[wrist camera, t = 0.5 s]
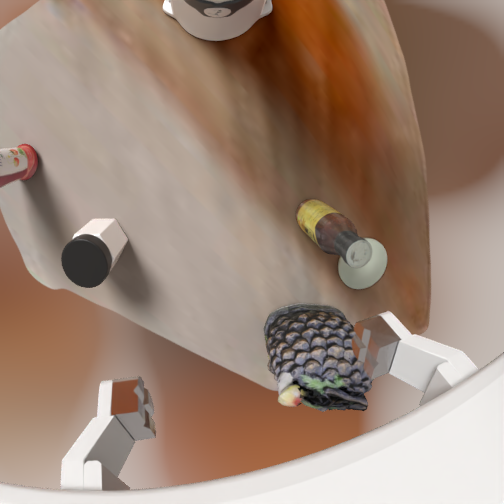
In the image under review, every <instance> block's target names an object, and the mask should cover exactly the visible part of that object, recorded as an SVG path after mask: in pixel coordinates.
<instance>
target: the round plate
mask: <svg viewBox="0 0 504 504" xmlns="http://www.w3.org/2000/svg"><path fill="white" fill-rule="evenodd" d="M364 239H365V240H367V241H368V242H369V243H370V244H371V246H372V257H371V259H370V261H369V262H368V263H367V264H366V265H365V266H363V267H361V268H352V267H350V266H349V265H348V264H346V263H345V262H344V260H343V258H342V257H341V256H340V258H339V262H338V273H339V276H340V278H341V280H342V281H343V282H344V283H345V284H346V285H347V286H348V287H350V288H353V289H364V288H367V287H370V286H371V285H373V284H374V283H376V282H377V281H378V280H379V279H380V278H381V276H382V275H383V273H384V271H385V269H386V265H387V253H386V250H385V248H384V247H383V245H382V244H381V243H379V242H378V241H376V240H375V239H372V238H364Z"/></svg>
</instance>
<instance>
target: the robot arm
mask: <svg viewBox="0 0 504 504" xmlns="http://www.w3.org/2000/svg"><path fill="white" fill-rule="evenodd" d="M169 2H170V3H169ZM265 3H266V4H265ZM272 8H273V7H272V2H271V0H165V1H164V4H163V11H164V12H165V13H166V14H168V15H169V16H171V17H174V18H175V19H176V20H177V21H178V22H179V23H180V25H181V26H182V27H183V28H184V29H185V30H186V31H187V32H188V33H190V34H191V35H193V36H195V37H198V38H201V39H204V40H211V41H221V40H227V39H231V38H234V37H237V36H239V35H241V34H243V33H244V32H246V31H247V30H248V29H249V28H250V27H251V26H252V25H253V24H254V23H255V22H256V21H257V20H258V19H259V18H262V17H264V16H266V15H268V14H270V13H271V11H272ZM354 331H355V333H356V334H355V336H354V337H353V338H352V349H353V352H354V355H355V356H356V358H357V359H358V360H359V361H361V362H364V366H363V368H364V370H365V371H366V373H367V374H368V376H369V377H370V378H371V379H374V378H376V377H379V376H381V375H384V374H386V373H390V374H391V375H393V376H395V377H397V378H398V379H400V380H402V381H404V382H406V383H408V384H409V385H411V386H413V387H415V388H417V389H419V390H421V391H423V392H424V395H423V397H422V399H421V401H420V407H418V408H416V409H415V410H413V411H411V412H409V413H407V414H405V415H403V416H401V417H399V418H397V419H395V420H393V421H391V422H389V423H387V424H385V425H383V426H380V427H379V428H376V429H374V430H372V431H369V432H367V433H365V434H362V435H360V436H358V437H355V438H353V439H351V440H349V441H346V442H343V443H340V444H338V445H335V446H333V447H330V448H327V449H325V450H322V451H319V452H316V453H313V454H310V455H307V456H304V457H301V458H298V459H295V460H292V461H288V462H286V463H282V464H278V465H275V466H271V467H268V468H264V469H260V470H256V471H252V472H248V473H244V474H239V475H235V476H230V477H225V478H220V479H215V480H210V481H204V482H198V483H191V484H184V485H177V486H169V487H160V488H149V489H135V490H130V487H129V486H127V485H126V484H125V483H124V482H122V481H121V480H120V479H119V478H118V475H119V473H120V471H121V469H122V467H123V465H124V463H125V461H126V459H127V457H128V455H129V453H130V451H131V449H132V447H133V445H134V443H135V441H137V440H143V439H150V438H156V430H155V422H154V421H153V419H152V418H151V417H152V416H153V414H154V406H153V402H152V398H151V396H150V393H149V391H148V390H147V389H145V388H144V382H143V380H142V378H141V377H132V378H123V379H115V380H107V381H102V382H101V384H100V388H99V399H98V411H97V417H94V418H93V419H92V420H91V422H90V423H89V424H88V426H87V427H86V428H85V430H84V431H83V432H82V434H81V435H80V437H79V438H78V439H77V441H76V442H75V443H74V445H73V446H72V447H71V449H70V450H69V451H68V453H67V454H66V455H65V457H64V458H63V460H62V470H61V489H48V488H38V487H29V486H22V485H15V484H9V483H3V482H0V504H504V352H503V353H502V354H501V355H499V356H498V357H497V358H496V359H494V360H493V361H491V362H490V363H489V364H487V365H486V366H485V367H483V368H482V369H480V370H479V369H478V368H477V366H476V365H475V364H474V363H473V362H472V361H471V360H470V359H469V358H468V357H467V356H466V354H465V353H464V352H463V351H461V350H458V349H455V348H452V347H450V346H447V345H444V344H441V343H438V342H435V341H433V340H430V339H427V338H424V337H422V336H419V335H416V334H414V335H412V334H411V333H410V332H409V331H408V330H407V329H406V328H405V327H404V326H403V324H402V323H401V322H400V321H399V320H398V319H397V318H396V317H395V316H394V315H393V314H392V313H391V312H389V311H387V312H385V313H382V314H379V315H376V316H373V317H370V318H367V319H365V320H362V321H359V322H356V324H355V325H354Z"/></svg>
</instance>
